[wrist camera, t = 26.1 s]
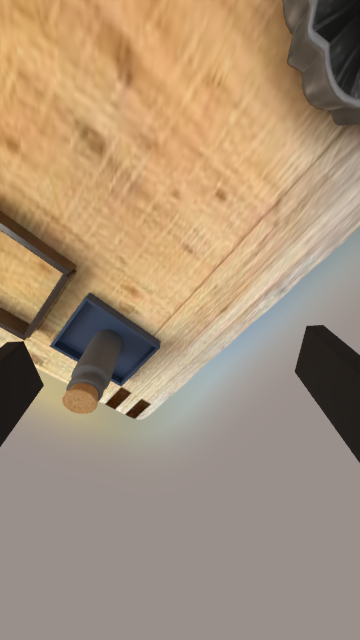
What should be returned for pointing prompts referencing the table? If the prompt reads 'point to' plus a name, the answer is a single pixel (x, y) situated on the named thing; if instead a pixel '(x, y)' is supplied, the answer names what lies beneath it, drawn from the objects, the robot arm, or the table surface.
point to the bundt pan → (327, 54)
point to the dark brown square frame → (47, 254)
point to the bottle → (93, 372)
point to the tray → (103, 317)
